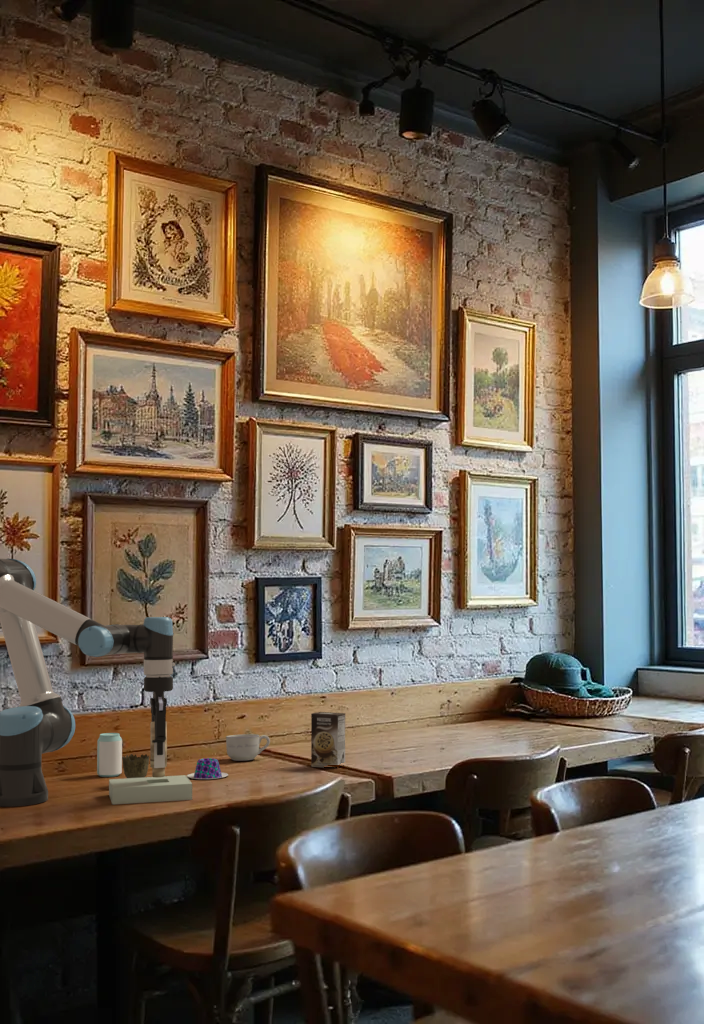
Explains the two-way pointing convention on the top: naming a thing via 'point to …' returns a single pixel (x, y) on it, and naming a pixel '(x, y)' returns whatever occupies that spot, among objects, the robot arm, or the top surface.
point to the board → (150, 789)
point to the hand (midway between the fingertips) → (158, 766)
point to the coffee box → (327, 739)
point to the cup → (135, 766)
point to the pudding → (207, 769)
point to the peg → (155, 771)
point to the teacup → (245, 746)
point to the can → (109, 755)
